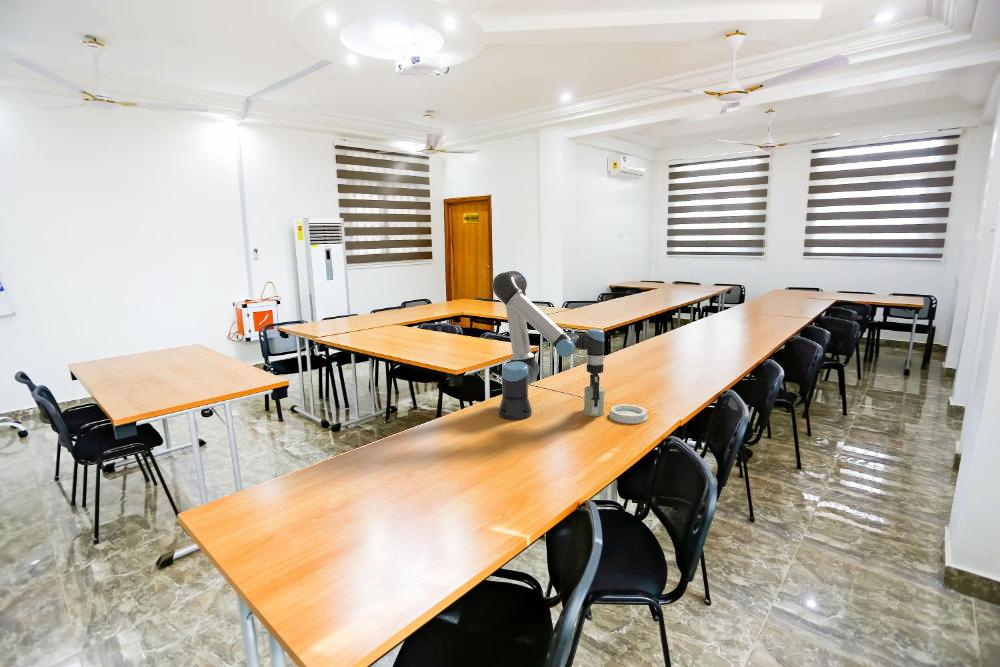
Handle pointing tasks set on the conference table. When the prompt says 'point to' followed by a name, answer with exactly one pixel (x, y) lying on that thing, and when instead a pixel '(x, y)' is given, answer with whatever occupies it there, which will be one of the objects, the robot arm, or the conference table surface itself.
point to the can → (588, 402)
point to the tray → (628, 414)
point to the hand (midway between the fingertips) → (593, 408)
